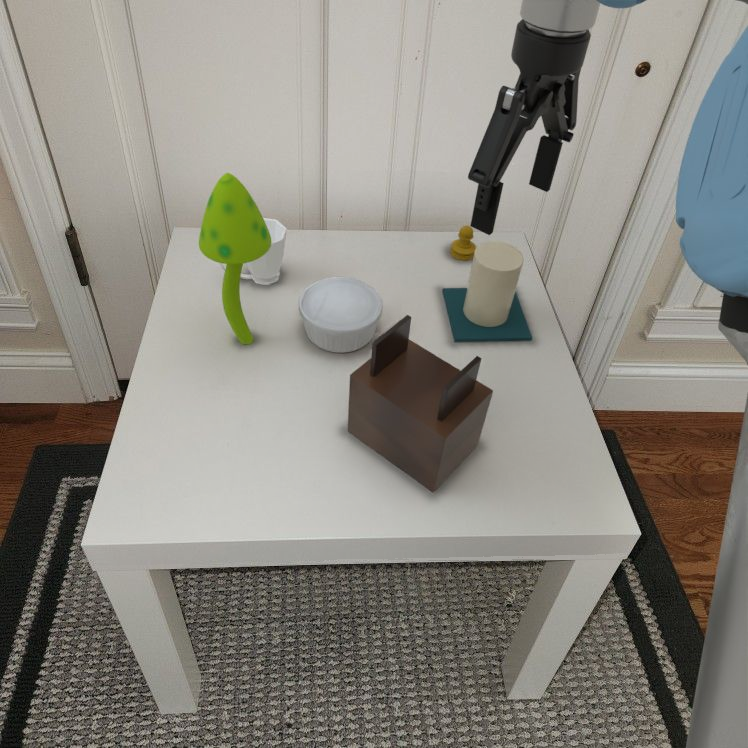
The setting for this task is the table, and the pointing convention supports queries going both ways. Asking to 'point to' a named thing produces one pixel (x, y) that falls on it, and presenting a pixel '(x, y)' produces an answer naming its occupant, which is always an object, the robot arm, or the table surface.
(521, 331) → the mat
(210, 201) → the mushroom
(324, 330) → the ramekin
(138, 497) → the table surface
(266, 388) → the table surface
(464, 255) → the chess piece
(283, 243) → the cup
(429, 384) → the holder
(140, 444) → the table surface
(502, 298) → the cream cylinder
